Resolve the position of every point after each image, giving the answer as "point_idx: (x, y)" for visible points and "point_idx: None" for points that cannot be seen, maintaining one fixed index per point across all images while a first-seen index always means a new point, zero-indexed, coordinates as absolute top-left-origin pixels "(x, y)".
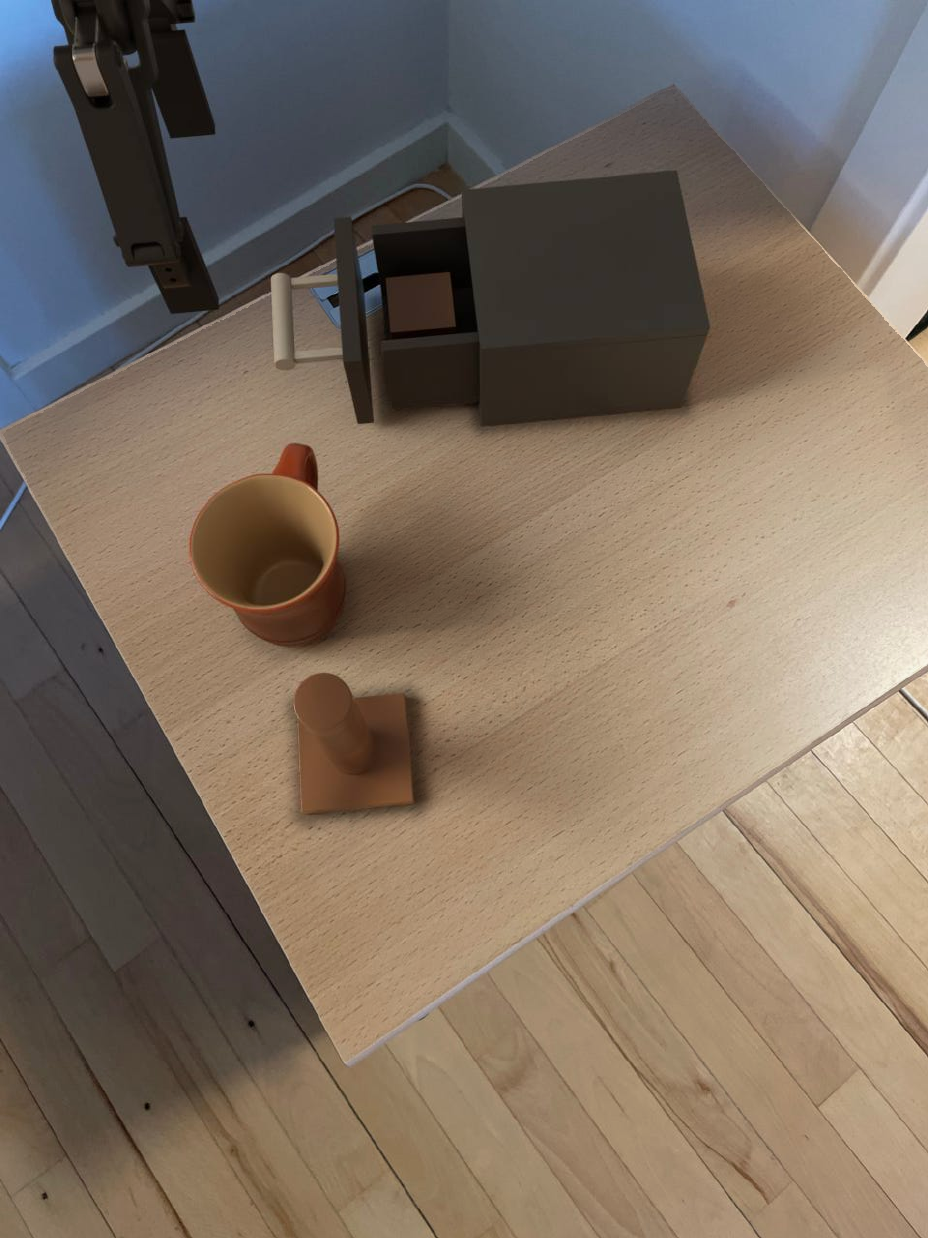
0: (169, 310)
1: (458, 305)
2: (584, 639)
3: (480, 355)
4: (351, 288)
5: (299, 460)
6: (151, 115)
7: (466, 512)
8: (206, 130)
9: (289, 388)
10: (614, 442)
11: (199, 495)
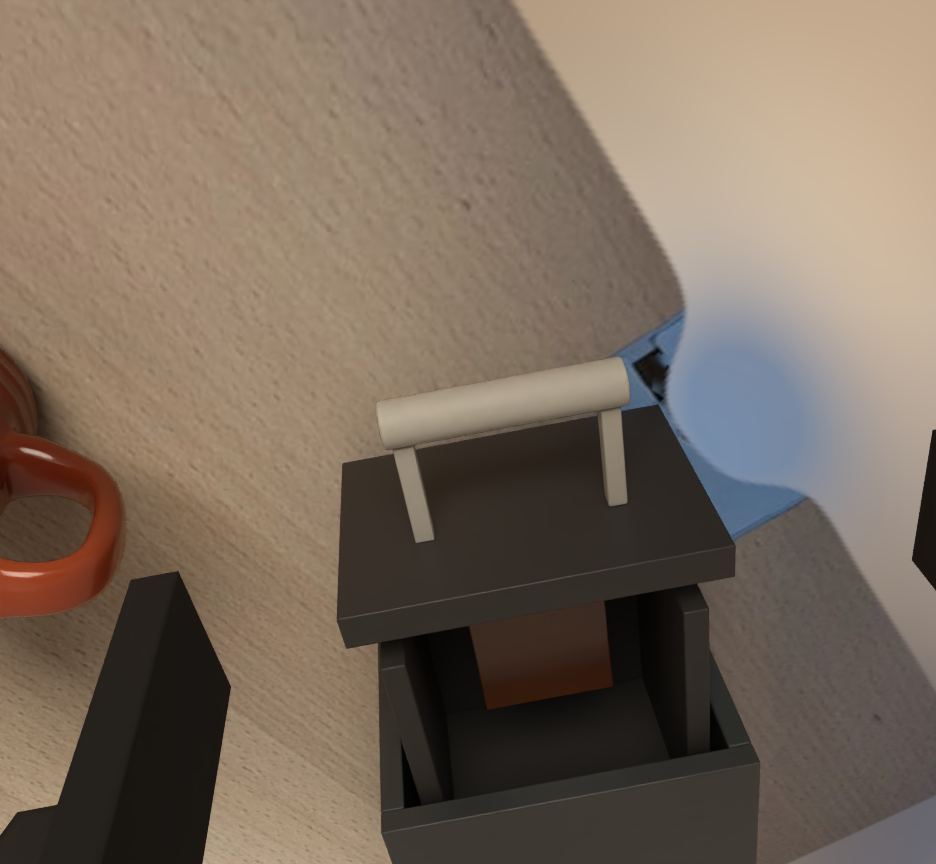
0: (127, 592)
1: None
2: (36, 772)
3: (385, 806)
4: (535, 605)
5: (27, 614)
6: None
7: (208, 622)
8: (926, 552)
9: (429, 305)
10: (371, 770)
11: (118, 149)
